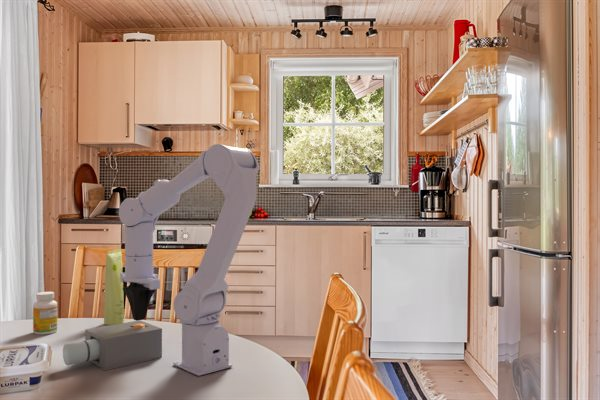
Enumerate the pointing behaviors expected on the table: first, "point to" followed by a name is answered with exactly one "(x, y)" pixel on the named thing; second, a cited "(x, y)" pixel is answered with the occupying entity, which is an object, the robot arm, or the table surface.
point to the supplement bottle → (45, 314)
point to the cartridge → (81, 351)
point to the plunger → (138, 326)
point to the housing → (126, 344)
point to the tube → (113, 289)
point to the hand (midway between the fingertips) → (139, 319)
